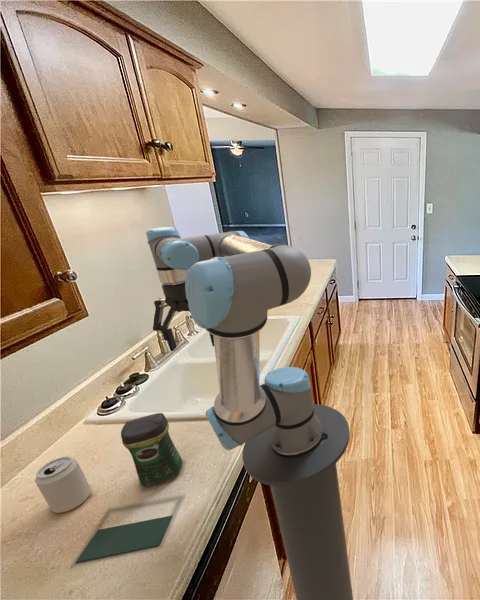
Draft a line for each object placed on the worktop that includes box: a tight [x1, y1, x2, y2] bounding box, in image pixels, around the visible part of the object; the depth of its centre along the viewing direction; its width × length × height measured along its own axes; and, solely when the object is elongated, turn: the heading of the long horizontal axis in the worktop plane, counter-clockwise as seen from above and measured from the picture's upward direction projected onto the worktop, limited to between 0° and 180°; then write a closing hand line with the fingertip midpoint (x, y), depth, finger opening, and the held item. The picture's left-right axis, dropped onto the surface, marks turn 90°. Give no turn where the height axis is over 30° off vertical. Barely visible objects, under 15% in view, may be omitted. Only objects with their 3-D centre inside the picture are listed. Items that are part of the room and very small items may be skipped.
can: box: [34, 455, 92, 514], centre depth 81 cm, size 8×8×12 cm
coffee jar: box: [120, 412, 183, 488], centre depth 87 cm, size 10×8×19 cm
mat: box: [75, 514, 174, 564], centre depth 77 cm, size 16×12×1 cm
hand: (194, 346), depth 104 cm, fingers open, 11 cm apart
